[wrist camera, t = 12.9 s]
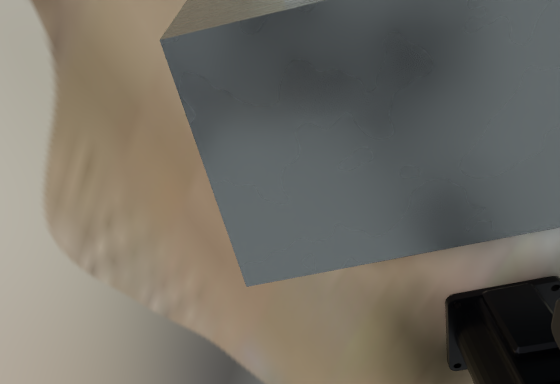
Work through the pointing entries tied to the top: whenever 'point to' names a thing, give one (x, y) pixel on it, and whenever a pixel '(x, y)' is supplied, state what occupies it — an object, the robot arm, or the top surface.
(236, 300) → the top surface
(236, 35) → the slate unit
